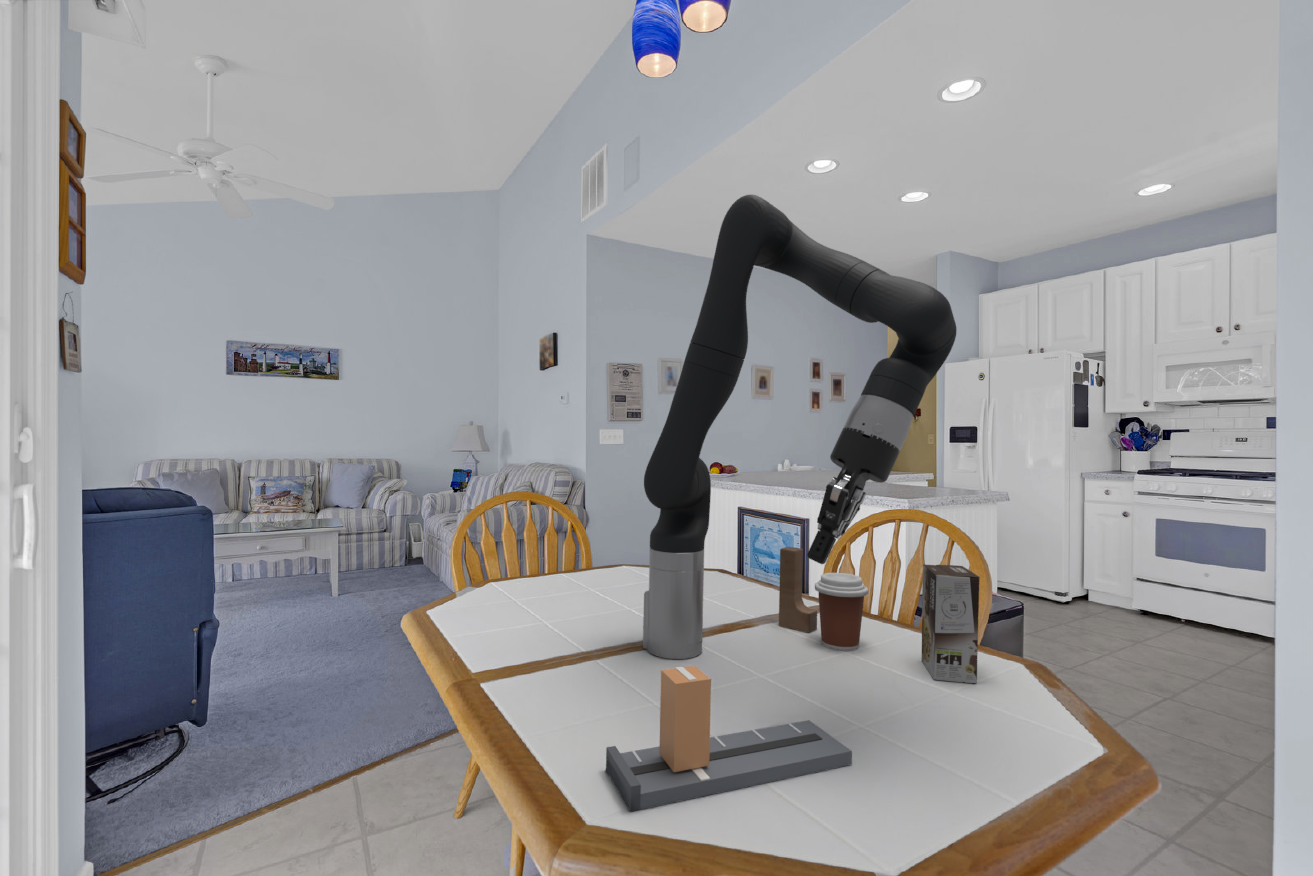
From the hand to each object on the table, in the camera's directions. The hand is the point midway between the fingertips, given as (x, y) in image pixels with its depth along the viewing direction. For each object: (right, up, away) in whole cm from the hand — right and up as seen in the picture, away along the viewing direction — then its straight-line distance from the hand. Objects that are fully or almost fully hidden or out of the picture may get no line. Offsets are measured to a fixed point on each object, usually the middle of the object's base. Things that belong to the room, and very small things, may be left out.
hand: (815, 561), depth 79 cm
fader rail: (-12, -20, -11) cm, 26 cm away
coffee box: (+26, -21, +19) cm, 39 cm away
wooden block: (+7, -21, +41) cm, 46 cm away
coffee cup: (+12, -21, +31) cm, 40 cm away
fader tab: (-17, -19, -13) cm, 28 cm away
